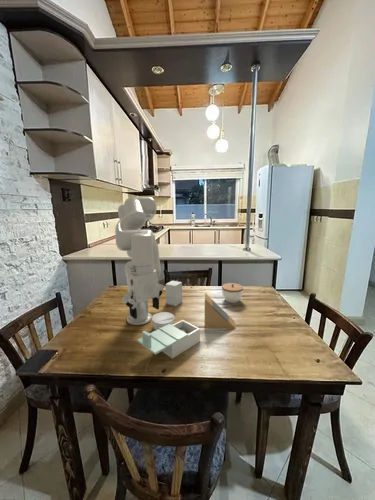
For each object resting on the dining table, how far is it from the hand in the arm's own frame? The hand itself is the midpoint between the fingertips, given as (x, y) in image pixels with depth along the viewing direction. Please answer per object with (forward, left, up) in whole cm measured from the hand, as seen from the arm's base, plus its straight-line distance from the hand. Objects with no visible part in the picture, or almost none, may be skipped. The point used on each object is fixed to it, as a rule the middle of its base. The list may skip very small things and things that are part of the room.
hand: (145, 312), depth 85 cm
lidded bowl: (-9, +68, -20) cm, 72 cm away
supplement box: (-32, +41, -20) cm, 56 cm away
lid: (0, +7, -14) cm, 16 cm away
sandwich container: (+3, +41, -20) cm, 46 cm away
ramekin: (-15, +19, -20) cm, 32 cm away
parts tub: (0, +15, -20) cm, 25 cm away
